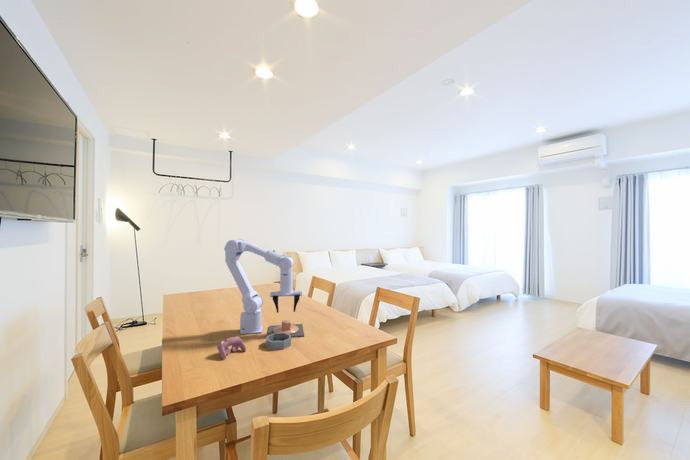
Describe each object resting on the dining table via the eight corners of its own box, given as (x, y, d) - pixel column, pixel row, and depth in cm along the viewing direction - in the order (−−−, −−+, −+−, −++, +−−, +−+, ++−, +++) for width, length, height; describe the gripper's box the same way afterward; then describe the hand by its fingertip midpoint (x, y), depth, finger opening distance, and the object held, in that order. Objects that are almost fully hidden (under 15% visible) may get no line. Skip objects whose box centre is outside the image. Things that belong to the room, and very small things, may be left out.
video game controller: (242, 352, 115) (237, 335, 117) (247, 350, 113) (243, 332, 114) (218, 361, 107) (214, 342, 109) (224, 359, 105) (219, 340, 107)
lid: (272, 336, 127) (272, 326, 127) (273, 327, 138) (273, 318, 138) (299, 334, 129) (299, 325, 129) (297, 325, 140) (298, 316, 140)
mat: (267, 339, 125) (267, 337, 125) (269, 326, 140) (269, 325, 140) (304, 336, 128) (304, 335, 128) (302, 325, 143) (302, 323, 143)
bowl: (265, 350, 114) (265, 343, 114) (267, 340, 124) (267, 333, 123) (291, 348, 116) (291, 341, 116) (290, 338, 126) (290, 332, 126)
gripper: (269, 284, 128) (269, 315, 128) (302, 284, 131) (302, 313, 131) (270, 281, 135) (270, 310, 135) (301, 281, 138) (301, 309, 138)
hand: (286, 311), depth 134 cm, fingers open, 7 cm apart
